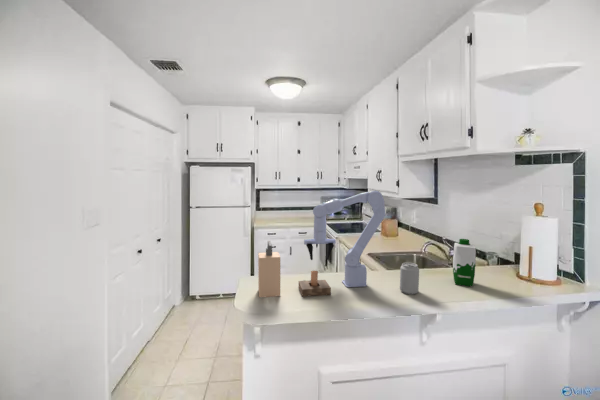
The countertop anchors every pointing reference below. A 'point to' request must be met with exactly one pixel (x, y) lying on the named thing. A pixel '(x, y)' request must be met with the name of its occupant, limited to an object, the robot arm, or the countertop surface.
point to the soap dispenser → (269, 273)
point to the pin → (314, 278)
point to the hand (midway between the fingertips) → (319, 259)
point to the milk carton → (464, 263)
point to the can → (409, 278)
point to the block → (314, 288)
